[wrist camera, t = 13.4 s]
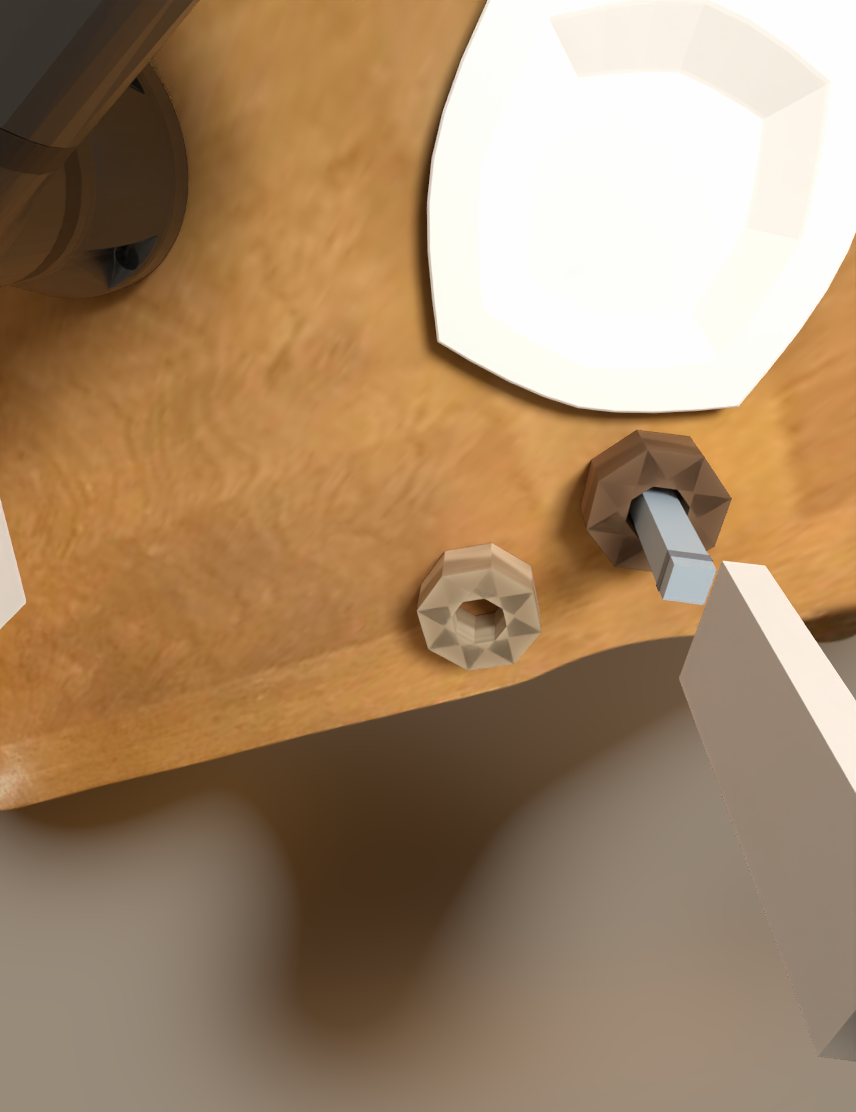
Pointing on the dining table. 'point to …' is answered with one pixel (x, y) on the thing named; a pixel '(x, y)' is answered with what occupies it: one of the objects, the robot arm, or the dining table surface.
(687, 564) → the long pale blue brick
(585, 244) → the plate
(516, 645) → the maple bead
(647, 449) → the walnut bead
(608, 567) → the dining table surface
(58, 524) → the dining table surface
